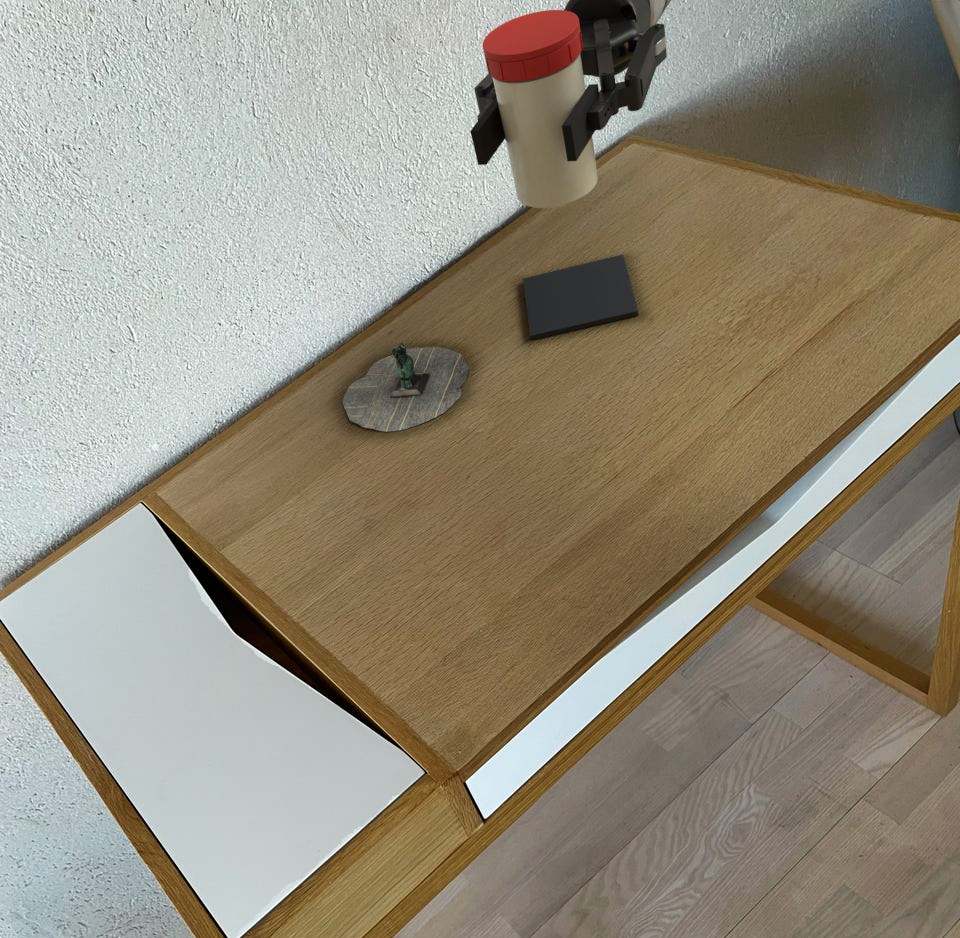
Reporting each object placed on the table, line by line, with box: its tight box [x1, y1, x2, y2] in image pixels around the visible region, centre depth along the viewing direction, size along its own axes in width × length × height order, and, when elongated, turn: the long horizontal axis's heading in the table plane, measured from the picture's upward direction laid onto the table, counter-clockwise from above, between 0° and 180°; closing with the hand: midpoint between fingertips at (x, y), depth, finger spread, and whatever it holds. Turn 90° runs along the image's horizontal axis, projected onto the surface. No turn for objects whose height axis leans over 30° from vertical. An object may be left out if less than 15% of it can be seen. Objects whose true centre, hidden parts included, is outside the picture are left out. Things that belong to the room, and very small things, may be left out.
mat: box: [522, 254, 639, 341], centre depth 90 cm, size 10×10×1 cm
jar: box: [492, 53, 599, 209], centre depth 77 cm, size 7×7×12 cm
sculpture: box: [341, 342, 470, 433], centre depth 88 cm, size 12×9×8 cm
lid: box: [482, 9, 583, 81], centre depth 73 cm, size 8×8×2 cm
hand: (523, 145), depth 74 cm, fingers closed on jar, 7 cm apart
